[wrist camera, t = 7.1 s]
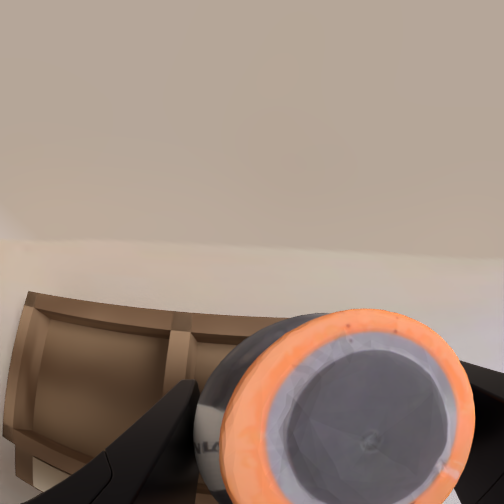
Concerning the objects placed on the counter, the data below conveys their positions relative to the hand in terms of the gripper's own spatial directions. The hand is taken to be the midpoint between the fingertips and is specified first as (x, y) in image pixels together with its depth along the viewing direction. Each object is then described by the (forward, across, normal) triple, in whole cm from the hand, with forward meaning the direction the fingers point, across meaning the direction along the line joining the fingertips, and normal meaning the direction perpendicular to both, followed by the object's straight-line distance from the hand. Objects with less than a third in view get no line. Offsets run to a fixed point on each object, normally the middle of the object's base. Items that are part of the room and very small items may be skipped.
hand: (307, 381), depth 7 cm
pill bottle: (+4, 0, +6) cm, 7 cm away
